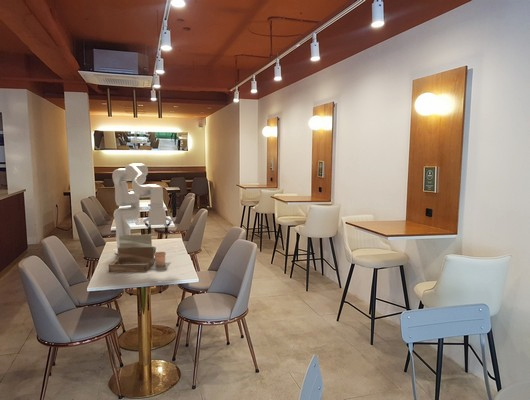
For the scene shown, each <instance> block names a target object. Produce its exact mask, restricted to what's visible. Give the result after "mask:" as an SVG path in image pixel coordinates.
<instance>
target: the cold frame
mask: <svg viewBox="0 0 530 400" xmlns="http://www.w3.org/2000/svg"><path fill="white" fill-rule="evenodd" d="M152 239H153V238H152V234H131V235H119V243H120V247H119V248H118V254H117V255H118V258H117V259H116V260H115V261H114V262H113V263H111V264H108V266H107V267H108V273H112V272H115V273H116V272H118V273H119V272H147V271H148V270H149V269H150V268H151V267H152V265H153V264H154V263H155V256H154V247H155V246H153V245H152V244H153V243H152V242H153V241H152ZM152 246H153V247H152Z"/></svg>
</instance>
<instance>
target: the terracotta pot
mask: <svg viewBox="0 0 530 400" xmlns="http://www.w3.org/2000/svg"><path fill="white" fill-rule="evenodd" d="M154 263H155V265H156V267H164V266H166V264H165V263H166V252H165V251H157V252H155V253H154Z"/></svg>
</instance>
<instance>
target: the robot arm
mask: <svg viewBox="0 0 530 400" xmlns="http://www.w3.org/2000/svg"><path fill="white" fill-rule="evenodd" d="M148 173H149V169H148V167H147V165H146V164H144V163H131V164H130V163H129V164H127V165H126V166H125V168H117V169H115V170H113V171H112V182H113V184H114V198H115V205H116V206H118V208H116V209H115V210H114V212H113V219H114V225H115V235H116V236H115V237H116V250H115V251H114V254H115V255H118V248H119V247H120V243H119V235H132V233H131V232H132V231H131V226H130V224H129V223H128V222H129V221H137V220H138V219H140V213H141V212H140V209H141V208H140V207H141V206H140V198H142V199H143V198H149V199H150V200H149V202H150V203H149V204H148V207H149V209H148V217H147V218H145V219H143V220H142V222H143V224H144V225H145V226H146V228H147V233H148V235H152V227H151V226H164V234H165V235H167V233H169V226H170V225H171V223H172V222H173V220H172V219H171V218H169V217H167V213H166V209H165V207H164V191H163V190H164V189H163V186H162V185H158V184H144V183H145V182H146V180H147V176H148ZM130 181H131V189H132V191H129V186H128V183H127V182H130ZM127 206H128V207H127ZM119 207H120V208H119ZM167 221H168V223H167Z"/></svg>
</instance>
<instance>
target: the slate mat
mask: <svg viewBox="0 0 530 400" xmlns="http://www.w3.org/2000/svg"><path fill="white" fill-rule="evenodd" d="M165 264H166V266H164V267H156V265H155V262H154V263H153V264H152V265H151V266H150V267H149V269H148V270H150V271H152V270H167V268H168V267H169V266H170V264H172V262H165Z"/></svg>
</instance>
